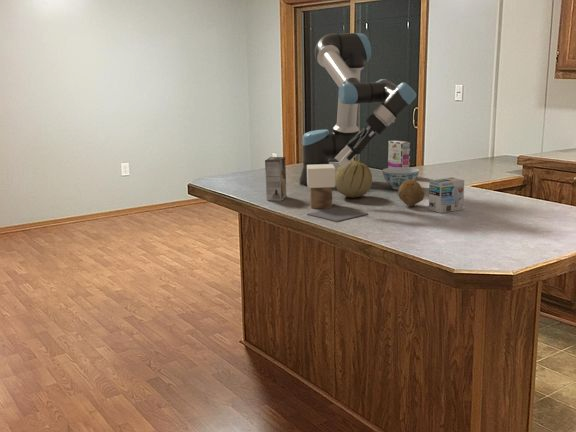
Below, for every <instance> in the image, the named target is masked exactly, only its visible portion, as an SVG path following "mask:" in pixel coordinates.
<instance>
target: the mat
mask: <svg viewBox="0 0 576 432" xmlns="http://www.w3.org/2000/svg"><path fill="white" fill-rule="evenodd" d="M367 215H369V213H367V212H363V211H358V210H354V209H349V208H345V207H344V208H343V207H340V206H336V207H332V208H325V209H323V210H317V211H313V212H308V213H306V216H310V217H314V218H319V219H323V220H327V221H331V222H334V223H335V222H336V223H338V222H343V221H346V220H351V219H355V218H360V217H364V216H367Z"/></svg>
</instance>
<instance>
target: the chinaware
mask: <svg viewBox="0 0 576 432" xmlns="http://www.w3.org/2000/svg"><path fill="white" fill-rule="evenodd" d="M419 173H420V169H418V168H415V167H410V168H408V167H394V168H388V167H386V168H383V169H382V175H383V177H384V180H385V181H386V183H387V184H388V185H390V186H391V188H392V189H393V190H399V187H400V185H401V184H402V183H403V182H404V181H405V180H408V179H413V180H415V181H416V180H417V179H418V176H419Z"/></svg>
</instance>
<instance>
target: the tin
mask: <svg viewBox="0 0 576 432" xmlns="http://www.w3.org/2000/svg"><path fill="white" fill-rule="evenodd" d="M309 190H310V191H309V192H310V195H309V196H310V201H309V202H310V208H311V209H323V208H324V209H331V208H333V187H324V188H309Z"/></svg>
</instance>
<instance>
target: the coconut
mask: <svg viewBox="0 0 576 432" xmlns="http://www.w3.org/2000/svg"><path fill="white" fill-rule="evenodd" d="M397 195H398V197H399V200H401V201H402V202H403V203H404V204H405V205H406V206H408V207H413V206H414V207H415V205H417V204H418V203H421V202H422V201H423V200H424V199H425V193H424V190H423V187H422V186H421V184H420V182H417V181H416V180H413V179H408V180H405V181H404V182H403V183H402V184H401V185H400V187H399V190H398V191H397Z"/></svg>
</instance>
